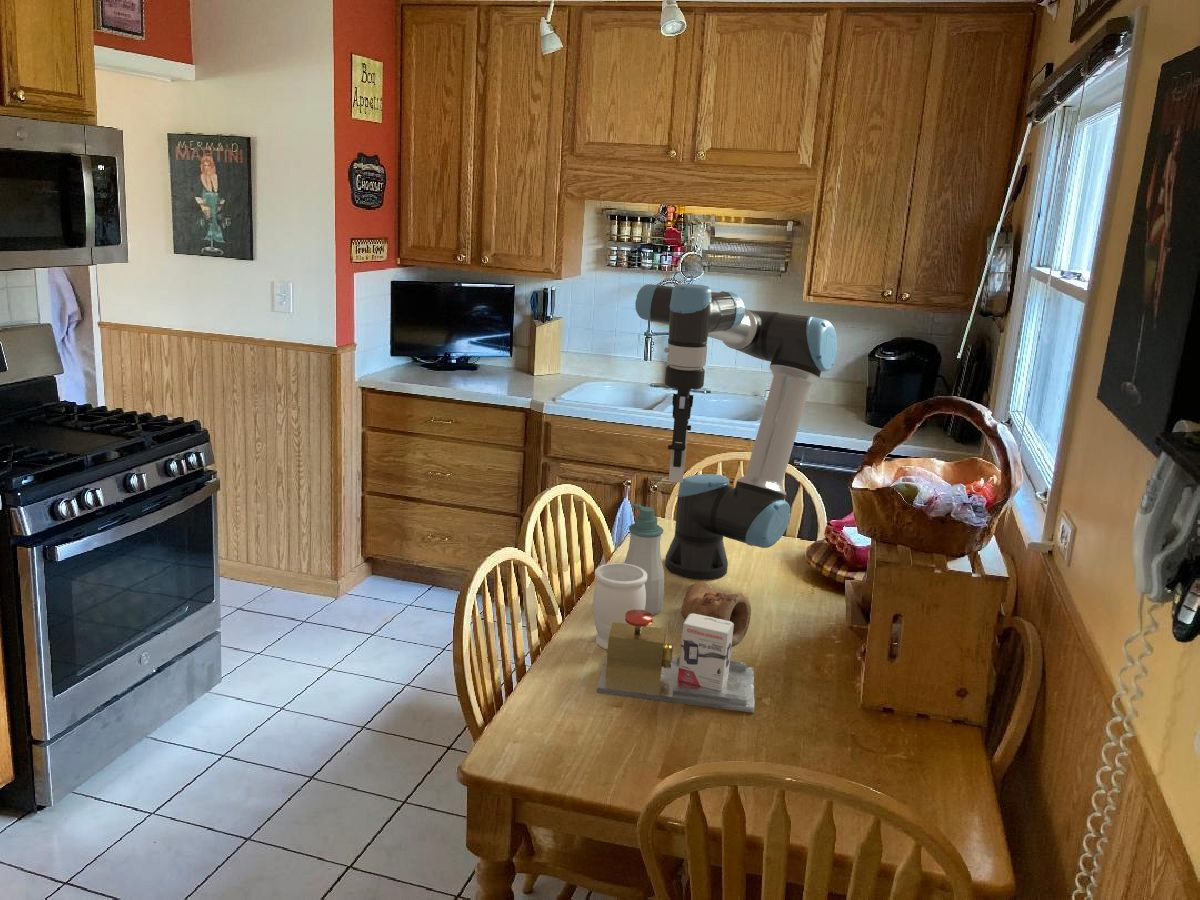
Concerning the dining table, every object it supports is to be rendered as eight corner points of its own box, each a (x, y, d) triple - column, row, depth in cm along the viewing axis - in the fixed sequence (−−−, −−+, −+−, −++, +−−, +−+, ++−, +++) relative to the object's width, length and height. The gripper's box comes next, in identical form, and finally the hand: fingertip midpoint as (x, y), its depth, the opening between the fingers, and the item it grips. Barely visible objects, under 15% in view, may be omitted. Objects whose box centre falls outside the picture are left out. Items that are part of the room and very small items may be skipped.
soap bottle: (638, 595, 211) (646, 498, 205) (671, 610, 204) (680, 511, 198) (607, 606, 204) (614, 507, 198) (640, 622, 198) (649, 520, 192)
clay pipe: (679, 661, 190) (752, 652, 186) (667, 613, 188) (741, 603, 183) (693, 620, 208) (760, 611, 203) (682, 576, 205) (749, 566, 201)
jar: (607, 625, 195) (612, 558, 191) (651, 640, 190) (657, 570, 186) (580, 644, 186) (584, 574, 182) (625, 659, 181) (631, 587, 177)
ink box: (676, 681, 172) (682, 622, 169) (684, 669, 177) (689, 611, 174) (721, 692, 170) (728, 632, 167) (728, 680, 174) (734, 621, 171)
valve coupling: (607, 654, 183) (611, 595, 180) (752, 672, 180) (759, 612, 177) (596, 692, 169) (600, 629, 166) (754, 712, 165) (761, 648, 162)
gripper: (669, 353, 194) (661, 453, 199) (662, 377, 170) (654, 489, 175) (705, 356, 193) (697, 456, 199) (704, 380, 169) (694, 492, 175)
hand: (677, 471), depth 187 cm, fingers open, 13 cm apart
